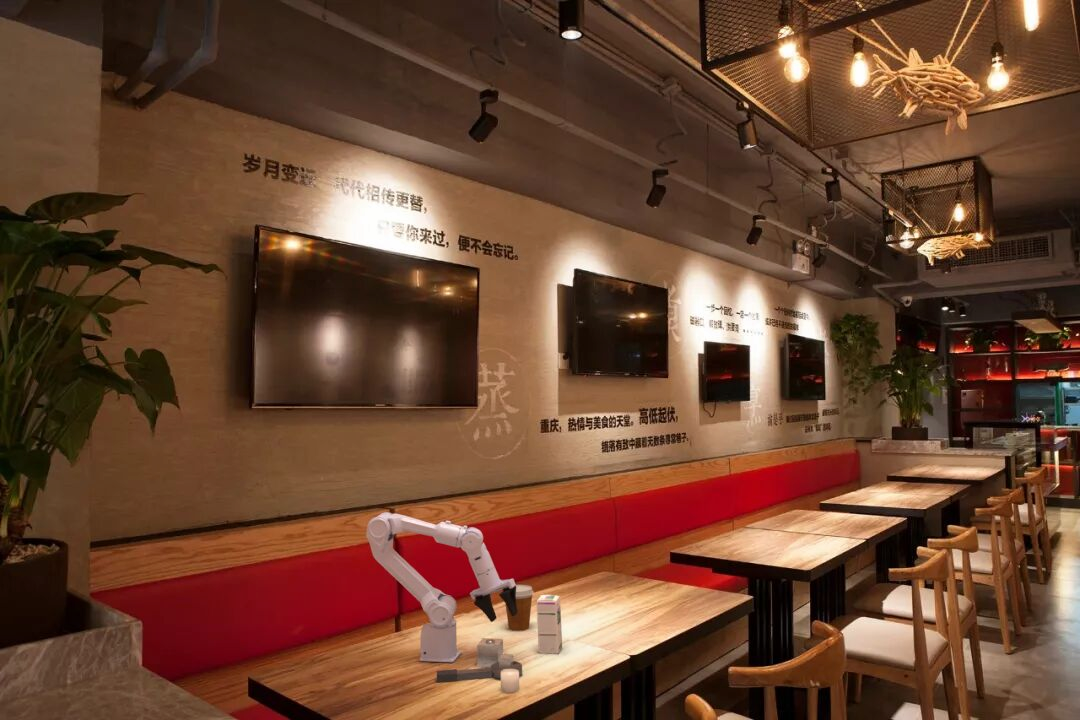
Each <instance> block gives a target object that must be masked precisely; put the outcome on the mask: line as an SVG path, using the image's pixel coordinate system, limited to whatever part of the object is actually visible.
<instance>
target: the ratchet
mask: <svg viewBox="0 0 1080 720" xmlns="http://www.w3.org/2000/svg"><path fill="white" fill-rule="evenodd" d="M505 669H516V670H518V671H519V678H521V677H522V676H523V664H522V663H521V662H519V661H514V653H513V654H511V653H510V654H509V653H503V654H501V656H500V657H499V662H496V663H494V664H492V665H491V667H477V668H470V669H469V668H467V669H457V668H455V669H443V670H436V683H448V682H450V683H451V682H459V681H467V680H469V681H470V680H478V679H479V680H480V679H490V678H492V679H494V680H497V681H501V671H502V670H505Z"/></svg>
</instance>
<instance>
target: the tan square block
mask: <svg viewBox="0 0 1080 720" xmlns="http://www.w3.org/2000/svg"><path fill="white" fill-rule="evenodd" d="M476 652H477V653H476V657H477V661H476V662H477V665H476V666H477V668H489V667H491V665H492V664H494V663H496V662H499V657H500V656H501V654H504V639H503V638H492V637H491V638H488V637H487V638H486V637H483V638H481V639H480V640H479V642H478V643H477V645H476Z"/></svg>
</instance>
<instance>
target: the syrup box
mask: <svg viewBox="0 0 1080 720" xmlns="http://www.w3.org/2000/svg"><path fill="white" fill-rule="evenodd" d="M561 611H562V610H561V596H560V595H559V594H542V595H541V594H540V597H538V598H537V600H536V615H537V617H536V618H537V619H536V621H537V643H538V645H537V646H538V653H539V654H545V653H549V654H548V655H550V654H551V655H558V653H559V654H560V652H561V650H562V648H563V638H562V637H563V635H562V614H561V613H562V612H561ZM552 653H553V654H552Z"/></svg>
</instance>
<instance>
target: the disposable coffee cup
mask: <svg viewBox="0 0 1080 720" xmlns="http://www.w3.org/2000/svg"><path fill="white" fill-rule="evenodd" d="M533 595H534V590H533V587H532V586H531V585H527V584H516V605H517V611H518V613H517V614H516V615H515V616H512V615H511V614H510V612H509V609H508V607H507V605H506V604H505V610H506V617H507V623H508V624H507V625H508V629H509V630H510V631H515V632H521V631H522V632H523V631H526V630H528V629H529V628H530V621H531V612H532V611H531V609H532V603H533V602H532V601H533Z"/></svg>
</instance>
